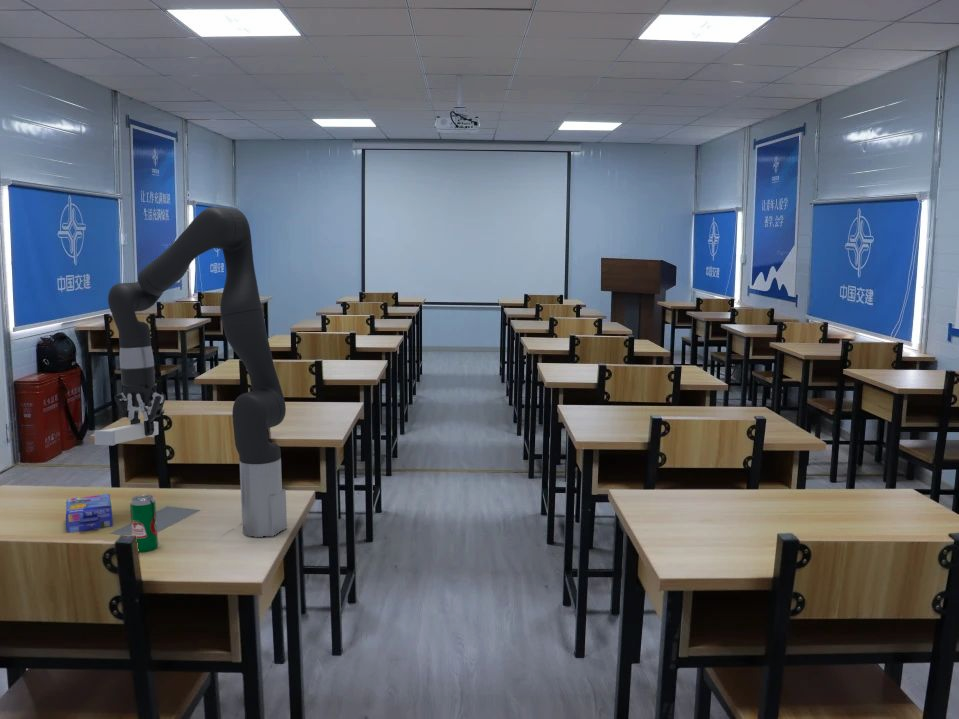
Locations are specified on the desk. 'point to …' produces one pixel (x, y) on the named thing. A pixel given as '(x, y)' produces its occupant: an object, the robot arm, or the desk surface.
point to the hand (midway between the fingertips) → (143, 434)
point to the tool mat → (162, 519)
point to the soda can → (144, 522)
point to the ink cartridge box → (88, 513)
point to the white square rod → (122, 434)
